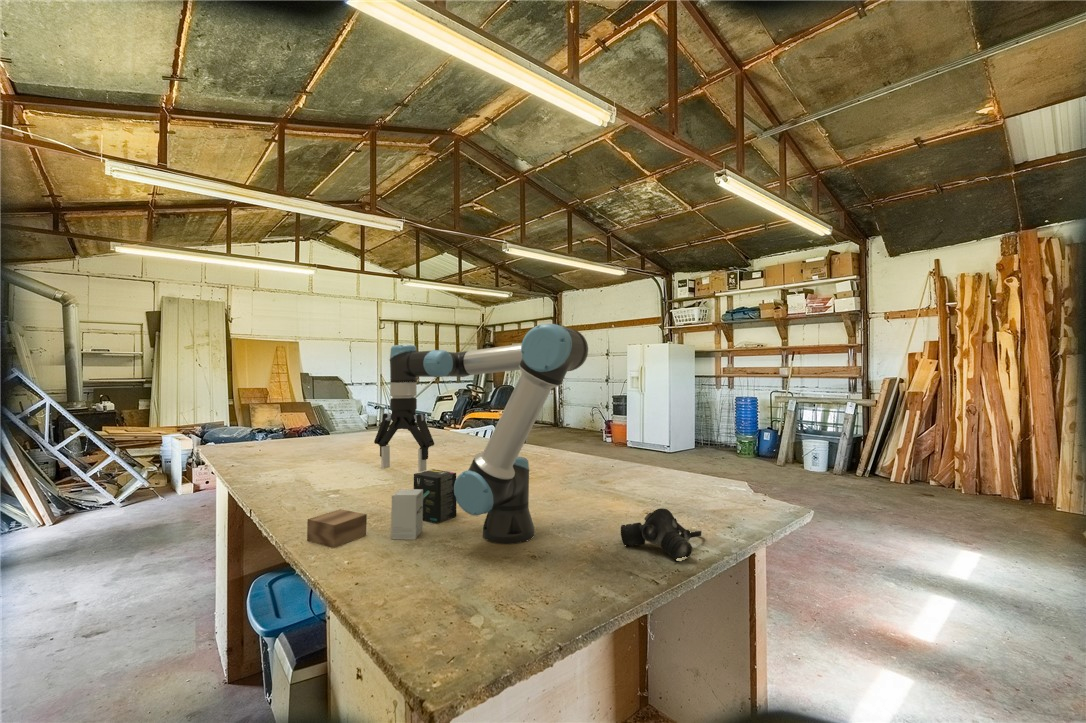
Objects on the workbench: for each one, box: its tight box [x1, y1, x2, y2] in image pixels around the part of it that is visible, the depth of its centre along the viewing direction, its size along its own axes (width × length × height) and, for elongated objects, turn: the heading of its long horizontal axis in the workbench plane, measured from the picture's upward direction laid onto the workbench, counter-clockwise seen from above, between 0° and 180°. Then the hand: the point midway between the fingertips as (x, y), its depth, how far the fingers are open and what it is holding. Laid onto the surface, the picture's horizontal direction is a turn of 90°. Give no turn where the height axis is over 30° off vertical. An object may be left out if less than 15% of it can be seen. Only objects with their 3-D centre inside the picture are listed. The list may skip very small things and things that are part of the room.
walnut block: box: [306, 508, 368, 548], centre depth 133 cm, size 11×11×6 cm
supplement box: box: [390, 488, 424, 541], centre depth 135 cm, size 7×7×13 cm
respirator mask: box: [620, 507, 702, 561], centre depth 129 cm, size 20×22×15 cm
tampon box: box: [413, 469, 458, 524], centre depth 152 cm, size 11×9×15 cm
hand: (403, 469), depth 136 cm, fingers open, 13 cm apart
